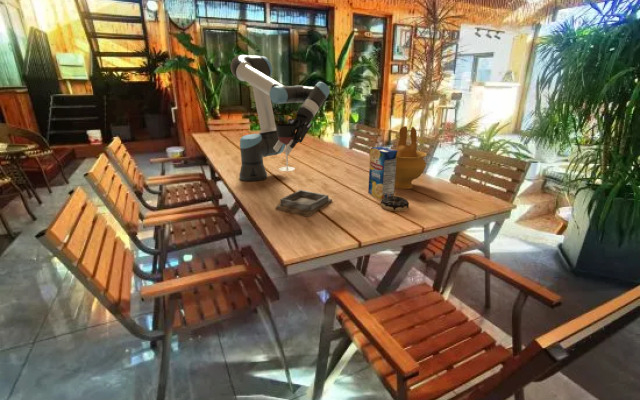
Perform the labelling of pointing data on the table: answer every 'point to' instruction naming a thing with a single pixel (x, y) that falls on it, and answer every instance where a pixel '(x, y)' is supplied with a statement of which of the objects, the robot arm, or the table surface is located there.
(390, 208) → the donut
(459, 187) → the table surface
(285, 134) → the wineglass
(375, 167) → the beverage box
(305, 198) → the tray
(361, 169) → the table surface
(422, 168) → the decorative bowl
